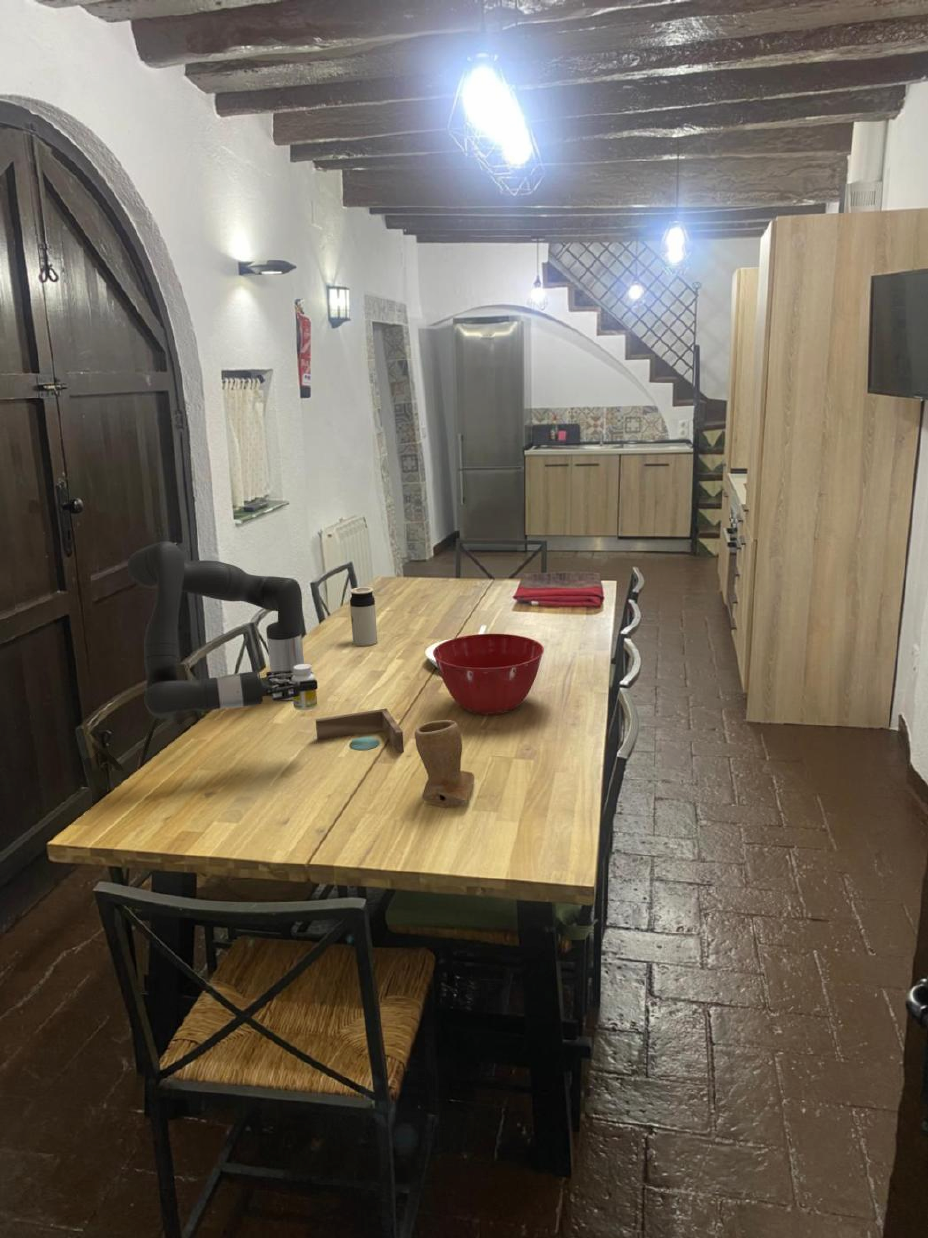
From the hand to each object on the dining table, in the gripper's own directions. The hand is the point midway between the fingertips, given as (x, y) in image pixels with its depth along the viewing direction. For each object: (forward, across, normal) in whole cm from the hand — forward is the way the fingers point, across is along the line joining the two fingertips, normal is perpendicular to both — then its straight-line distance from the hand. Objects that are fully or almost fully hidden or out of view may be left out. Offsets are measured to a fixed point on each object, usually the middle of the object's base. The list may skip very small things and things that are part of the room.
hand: (314, 680), depth 205 cm
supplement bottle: (-3, 0, +6) cm, 7 cm away
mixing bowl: (+46, +12, +18) cm, 51 cm away
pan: (+57, +56, +18) cm, 82 cm away
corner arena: (+9, 0, +18) cm, 20 cm away
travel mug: (+28, +82, +18) cm, 88 cm away
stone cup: (+21, -32, +18) cm, 42 cm away
